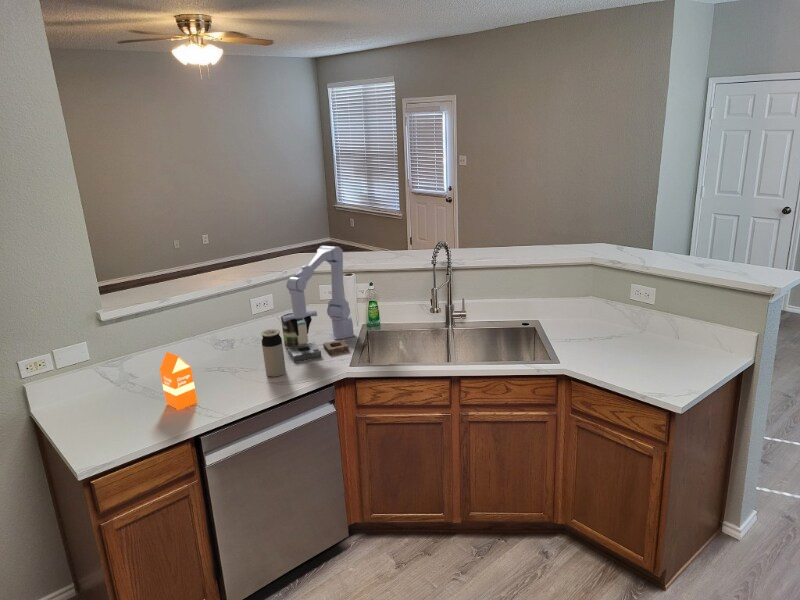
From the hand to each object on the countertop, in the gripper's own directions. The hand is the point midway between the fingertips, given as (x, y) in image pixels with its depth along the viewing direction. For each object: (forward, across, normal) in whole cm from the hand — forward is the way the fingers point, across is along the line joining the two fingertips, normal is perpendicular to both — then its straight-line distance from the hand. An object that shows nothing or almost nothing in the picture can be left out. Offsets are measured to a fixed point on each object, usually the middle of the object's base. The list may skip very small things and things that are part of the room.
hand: (302, 334), depth 249 cm
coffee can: (+10, -1, +15) cm, 18 cm away
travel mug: (+10, -15, -13) cm, 22 cm away
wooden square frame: (+10, +14, -1) cm, 17 cm away
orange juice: (+10, -52, -23) cm, 58 cm away
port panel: (+10, 0, 0) cm, 10 cm away
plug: (+3, 0, 0) cm, 4 cm away
